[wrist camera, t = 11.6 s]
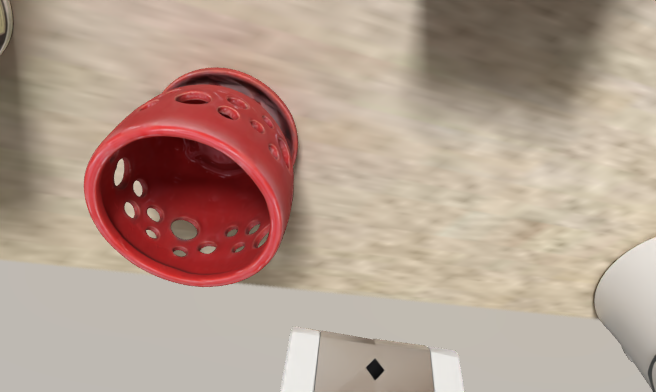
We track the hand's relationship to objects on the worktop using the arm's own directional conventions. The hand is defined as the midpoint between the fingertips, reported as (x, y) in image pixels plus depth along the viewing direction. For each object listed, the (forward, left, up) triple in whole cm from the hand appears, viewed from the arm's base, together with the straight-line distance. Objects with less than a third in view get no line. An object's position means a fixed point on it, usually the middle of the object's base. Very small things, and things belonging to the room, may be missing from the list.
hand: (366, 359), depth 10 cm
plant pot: (+10, +13, -32) cm, 36 cm away
